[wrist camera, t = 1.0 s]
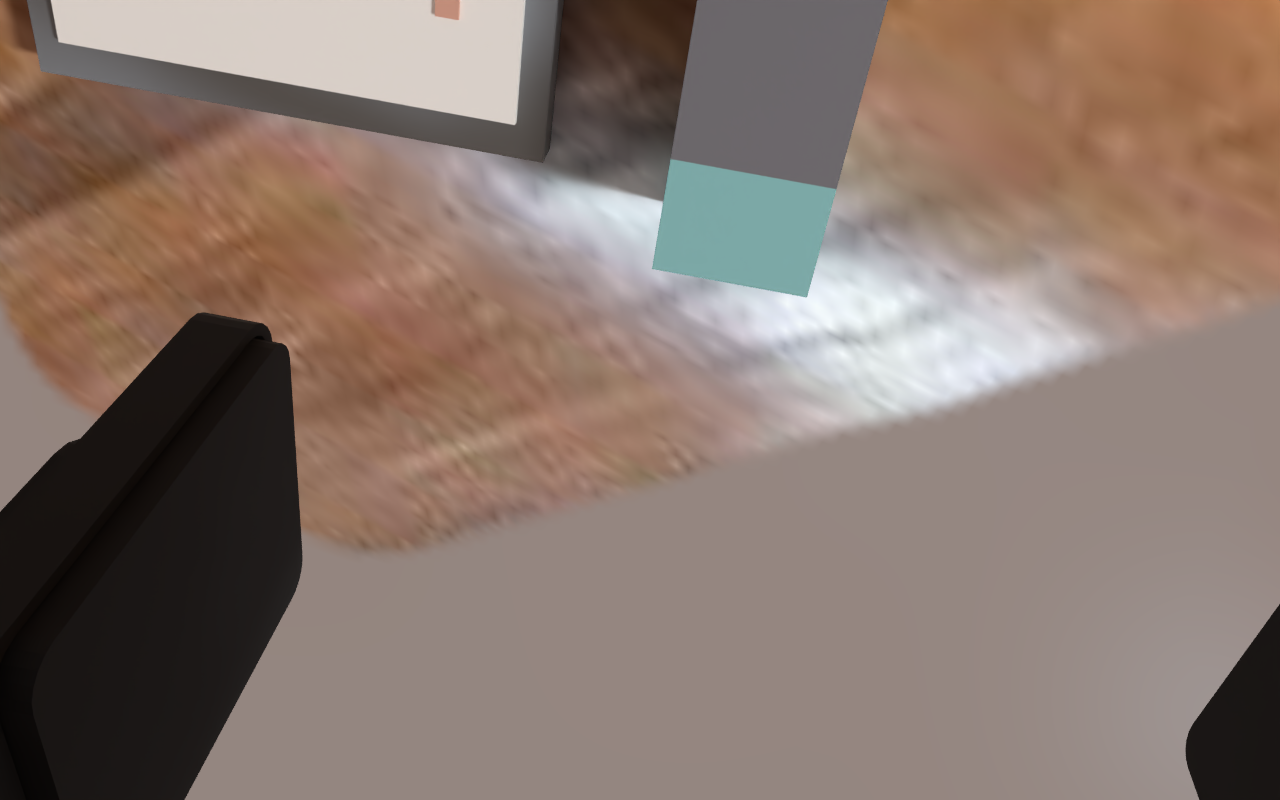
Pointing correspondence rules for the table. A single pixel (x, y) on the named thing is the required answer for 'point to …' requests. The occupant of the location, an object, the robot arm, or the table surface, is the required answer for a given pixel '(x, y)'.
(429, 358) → the table surface
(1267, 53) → the table surface
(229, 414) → the robot arm
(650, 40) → the table surface
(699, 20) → the teal-tipped grey bar
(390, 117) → the drawing board
